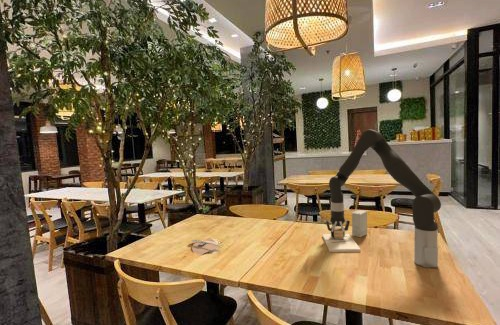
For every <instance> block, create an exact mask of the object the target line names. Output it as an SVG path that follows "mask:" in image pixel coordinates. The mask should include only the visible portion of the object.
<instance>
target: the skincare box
mask: <svg viewBox="0 0 500 325" xmlns="http://www.w3.org/2000/svg"><path fill="white" fill-rule="evenodd" d="M351 214H352V215H351V233H352V234H351V236H354V237H358V238H362V237H364V236H366V235H367V234H368V211H365V210H361V209H357V210H356V211H352V212H351Z"/></svg>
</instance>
